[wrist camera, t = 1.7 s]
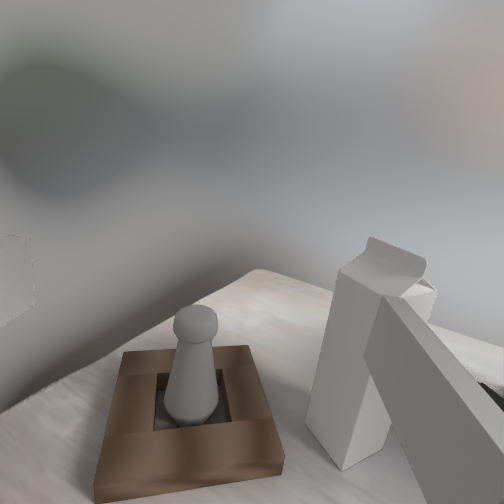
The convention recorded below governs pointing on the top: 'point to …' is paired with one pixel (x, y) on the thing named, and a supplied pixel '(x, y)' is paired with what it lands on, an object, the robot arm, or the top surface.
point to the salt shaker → (193, 367)
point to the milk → (360, 350)
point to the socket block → (185, 431)
